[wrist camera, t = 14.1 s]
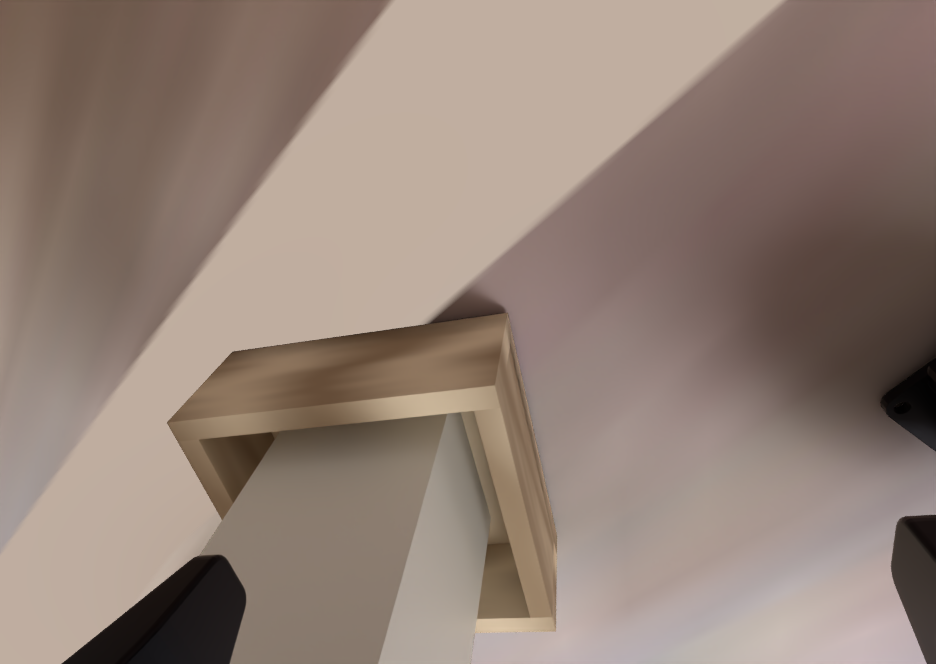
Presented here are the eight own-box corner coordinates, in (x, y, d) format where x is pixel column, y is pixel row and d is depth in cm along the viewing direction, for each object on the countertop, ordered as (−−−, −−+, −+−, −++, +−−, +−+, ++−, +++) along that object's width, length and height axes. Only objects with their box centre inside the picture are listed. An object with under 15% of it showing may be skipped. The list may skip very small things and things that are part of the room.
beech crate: (507, 312, 21) (494, 385, 17) (556, 535, 26) (555, 631, 22) (232, 351, 23) (166, 422, 20) (325, 548, 28) (288, 635, 25)
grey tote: (453, 390, 22) (353, 753, 11) (490, 517, 25) (438, 900, 14) (295, 408, 23) (77, 743, 13) (347, 526, 26) (204, 879, 16)
